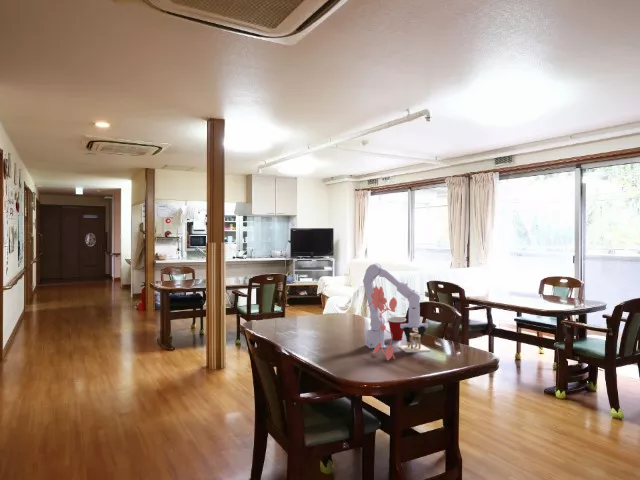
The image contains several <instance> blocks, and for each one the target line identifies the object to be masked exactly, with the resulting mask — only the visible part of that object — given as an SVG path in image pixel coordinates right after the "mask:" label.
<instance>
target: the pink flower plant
mask: <svg viewBox="0 0 640 480" xmlns="http://www.w3.org/2000/svg"><path fill="white" fill-rule="evenodd" d="M373 291H374V293H372V294H371V298H372V299H373V301H372V302H371V303H370V304H368V305H367V307H368V308H369V305H371V304H372V303H373V304H374V307H375V310H377V309H378V308H379V311H380V312H381V313H380V319H381V315H382V314H383V313H384V312H386V311H390V312H393V313H395V312H396V310H395V309H396V307H397V304H398V301H397V299H396V298H395V297H392V298H391V299H390V300H389V302H388V299H387V298H386V297H385V293H384V289H383V287H382V286H380V287H378V286H377V285H375V286H374V288H373ZM386 303H388V306H387V304H386ZM381 324H382V319H381ZM386 327H387V326H386V325H385V324H384V325H381V326H380V329H381V330H384V331H386V332H387V333H388V334H390V335H391V333H390V331H389V330H387V328H386ZM380 329H379V344H378V345H377V346H376V347H375V348H373V351H372V355H374V354H376V353H377V352H380V351H382V353H383V355H385V357H386V360H387V361H390V359H391V358H392V357H393V359H394V360H396V357H395V355H394V350H393V349H394V348H393V347H392V346H391V345H392V341H393V340H392V337H391V336H390V337H391V338H390V343H389V346H388V347H387V348H386V350H385V351H384V348H382V346H381V345H382V343H380ZM392 336H393V334H392ZM380 347H381V350H380ZM362 359H363V360H364V361H366V362H370V363H371V360H370V361H369V360H367V359H364V358H363V356H362ZM372 363H373V364H376V362H375V361H372ZM379 364H380V365H381V364H382V365H384V363H383V362H382V363H381V362H379Z"/></svg>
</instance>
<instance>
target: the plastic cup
mask: <svg viewBox="0 0 640 480" xmlns="http://www.w3.org/2000/svg"><path fill="white" fill-rule="evenodd" d="M386 320H387V322H388V326H389V332H390V333H391V334H390V333H389V334H390V337H392V341H402V340H403V335H404V330H403V328H400V324H406V321H407V318H405V317H401V316H390V317H388V318H387V319H386ZM392 334H393V336H392Z"/></svg>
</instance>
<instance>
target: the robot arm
mask: <svg viewBox="0 0 640 480" xmlns="http://www.w3.org/2000/svg"><path fill="white" fill-rule="evenodd" d="M377 277H381V278H384V279H386V280H387V281H388V282H390V283H391V284H392V285H393V286H395V287H396V292H398V293H399V294H401V295H402V296H403V297H404V298H405V299H407V302H408V323H406V322H405V324H400V328H403V330H404V331H403V334H404V335H405V338H406V342H407V343H408V342H410V341H411V337H410V333H411V329H413V328H415V329H416V328H417V333H418V334H420V335H421V337H420V338H421V341H422V339H423V336H424V333H425V332H426V331H427V329H428V327H429V324H428V323H427V322H424V323H423V322H421V319H420V318H421V317H420V316H421V313H420V312H421V307H420V305H421V304H420V300H421V295H420V294H419V293H418V292H417V291H416V290H415V289H413V288H411V287H410V286H409V284H408V283H407V282H404V281H402V282H401V281H400V280H398V279H397V278H396V277H395V276H394V275H393V274H392V273H391V272H390V271H389V270H388V269H386V267H384V266H382V265H381V264H379V263H372V264H370V265H369V266H368V267H367V268H366V270H365V274H364V276H363V279H362V283H363V286H364V291H365V295H366V299H367V304H368V305H369V304H370V303H371V302H372V301H373V299H372V298H371V294H372V293H374V291H373V288H375V286H374V283H373V282H374V281H375V280H376V278H377ZM368 309H369V312H370V313H369V314H370V315H369V316H370V317H369V318H370V322H369V324H370V329H368V330H366V332H365V345H366V347H368V349H375V347H376V346H377V345H378V344H379V329H380V326H381V325H385V322H386V321H385V319H384V317H383V315H382V314H381V319H382V324H381V319H380V313H382V312H381V311H380V310H379V308H378V309H377V310H375V307H374V304H373V303H372V304H371V305H369V306H368ZM380 343H382V345H381V346H382V349H384V348H385V349H387V348H388V347H387V345H385V330H381V329H380ZM380 348H381V347H380Z"/></svg>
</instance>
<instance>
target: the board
mask: <svg viewBox="0 0 640 480" xmlns="http://www.w3.org/2000/svg"><path fill="white" fill-rule="evenodd" d="M398 348H399V349H400V350H402V351H403V352H405V353H425V352H426V353H427V352H431V349H430V348H428V347H426V346H425V345H423V344H421V348H419V344H417V347H416V346H415V344H413V349H411V344H410V347H408V344H407V345H398Z"/></svg>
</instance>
